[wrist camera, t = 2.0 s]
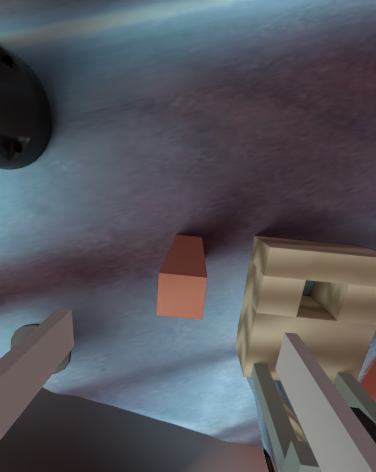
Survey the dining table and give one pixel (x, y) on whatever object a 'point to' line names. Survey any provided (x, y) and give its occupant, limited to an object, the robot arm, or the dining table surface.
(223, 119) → the dining table surface
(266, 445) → the beer glass
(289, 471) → the grey toy table
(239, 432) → the dining table surface
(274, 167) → the dining table surface
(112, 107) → the dining table surface
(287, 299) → the socket block
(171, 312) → the peg
